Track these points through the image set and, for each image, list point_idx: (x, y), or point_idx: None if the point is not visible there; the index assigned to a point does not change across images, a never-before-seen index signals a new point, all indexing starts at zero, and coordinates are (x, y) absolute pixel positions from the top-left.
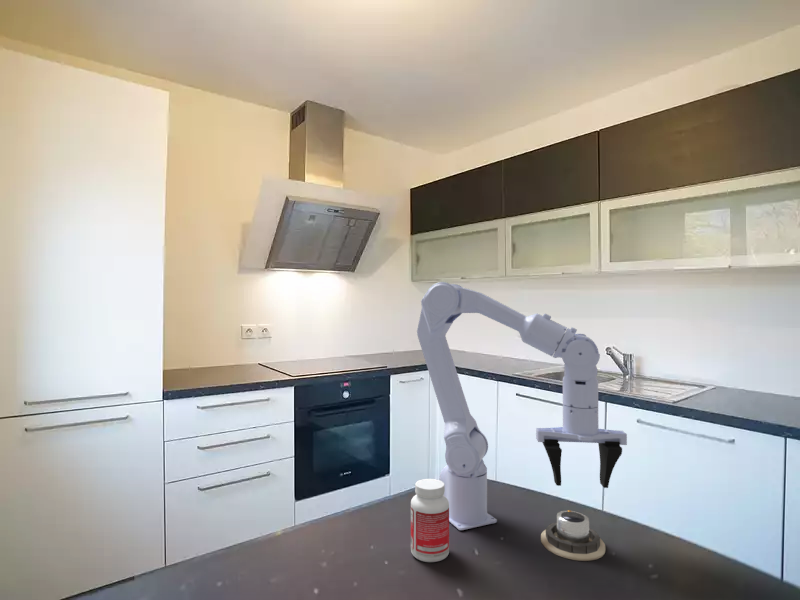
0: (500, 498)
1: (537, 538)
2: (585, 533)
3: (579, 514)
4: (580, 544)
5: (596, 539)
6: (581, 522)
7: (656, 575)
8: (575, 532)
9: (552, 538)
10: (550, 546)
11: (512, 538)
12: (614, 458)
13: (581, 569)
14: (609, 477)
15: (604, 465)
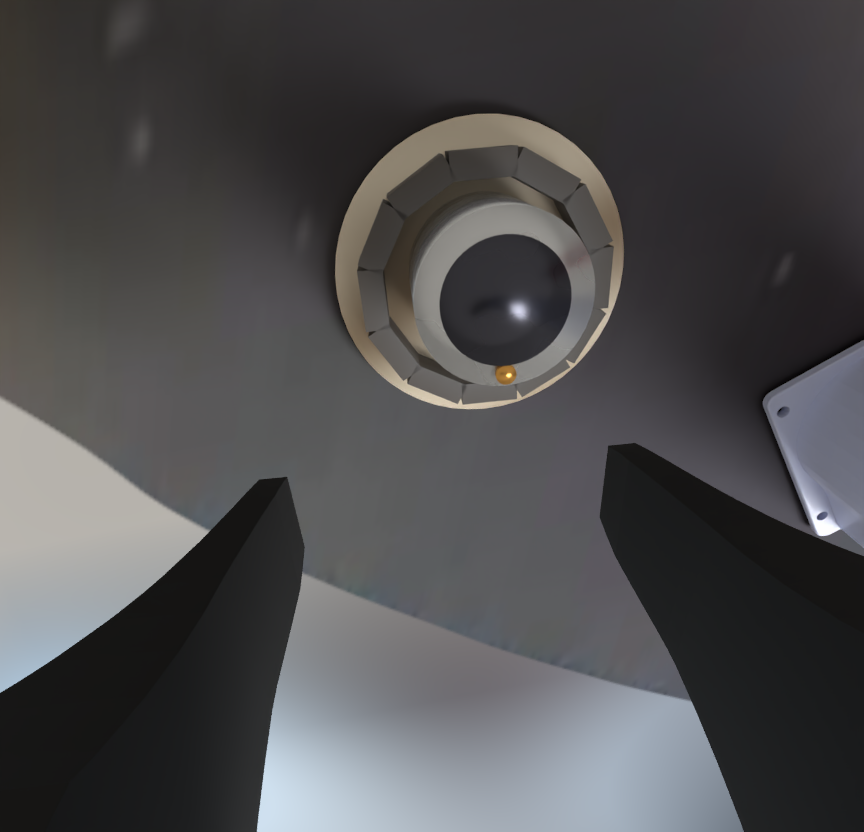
0: None
1: (622, 300)
2: (441, 222)
3: (459, 339)
4: (472, 169)
5: (377, 248)
6: (468, 242)
7: (114, 32)
8: (502, 199)
9: (599, 217)
10: (600, 198)
11: (736, 276)
12: (54, 687)
13: (489, 17)
14: (218, 523)
15: (235, 630)
